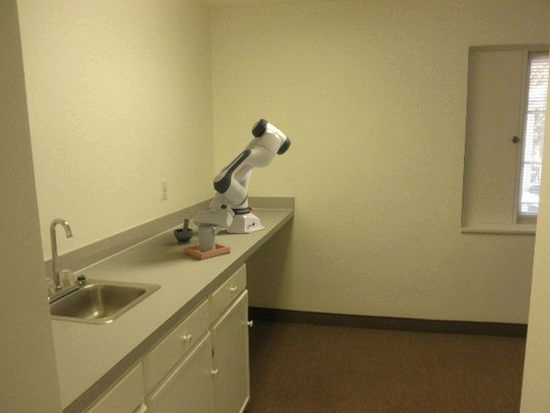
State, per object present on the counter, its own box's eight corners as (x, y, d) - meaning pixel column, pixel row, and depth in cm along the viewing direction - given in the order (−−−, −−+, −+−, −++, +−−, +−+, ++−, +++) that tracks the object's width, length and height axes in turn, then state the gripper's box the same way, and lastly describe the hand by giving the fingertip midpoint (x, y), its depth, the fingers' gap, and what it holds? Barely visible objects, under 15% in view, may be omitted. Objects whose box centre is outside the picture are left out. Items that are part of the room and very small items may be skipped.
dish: (212, 247, 207) (211, 241, 207) (230, 253, 196) (229, 246, 195) (184, 254, 197) (184, 247, 197) (202, 260, 186) (201, 253, 185)
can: (218, 249, 198) (217, 225, 197) (210, 253, 191) (209, 228, 190) (204, 249, 201) (203, 224, 199) (196, 252, 194) (194, 227, 192)
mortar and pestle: (188, 245, 213) (186, 222, 211) (171, 245, 215) (169, 222, 214) (197, 240, 224) (195, 218, 222) (181, 239, 226) (179, 218, 224)
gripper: (197, 204, 205) (185, 228, 198) (231, 206, 195) (220, 231, 188) (204, 212, 209) (192, 235, 202) (237, 214, 199) (226, 238, 192)
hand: (205, 233), depth 195 cm, fingers open, 8 cm apart
